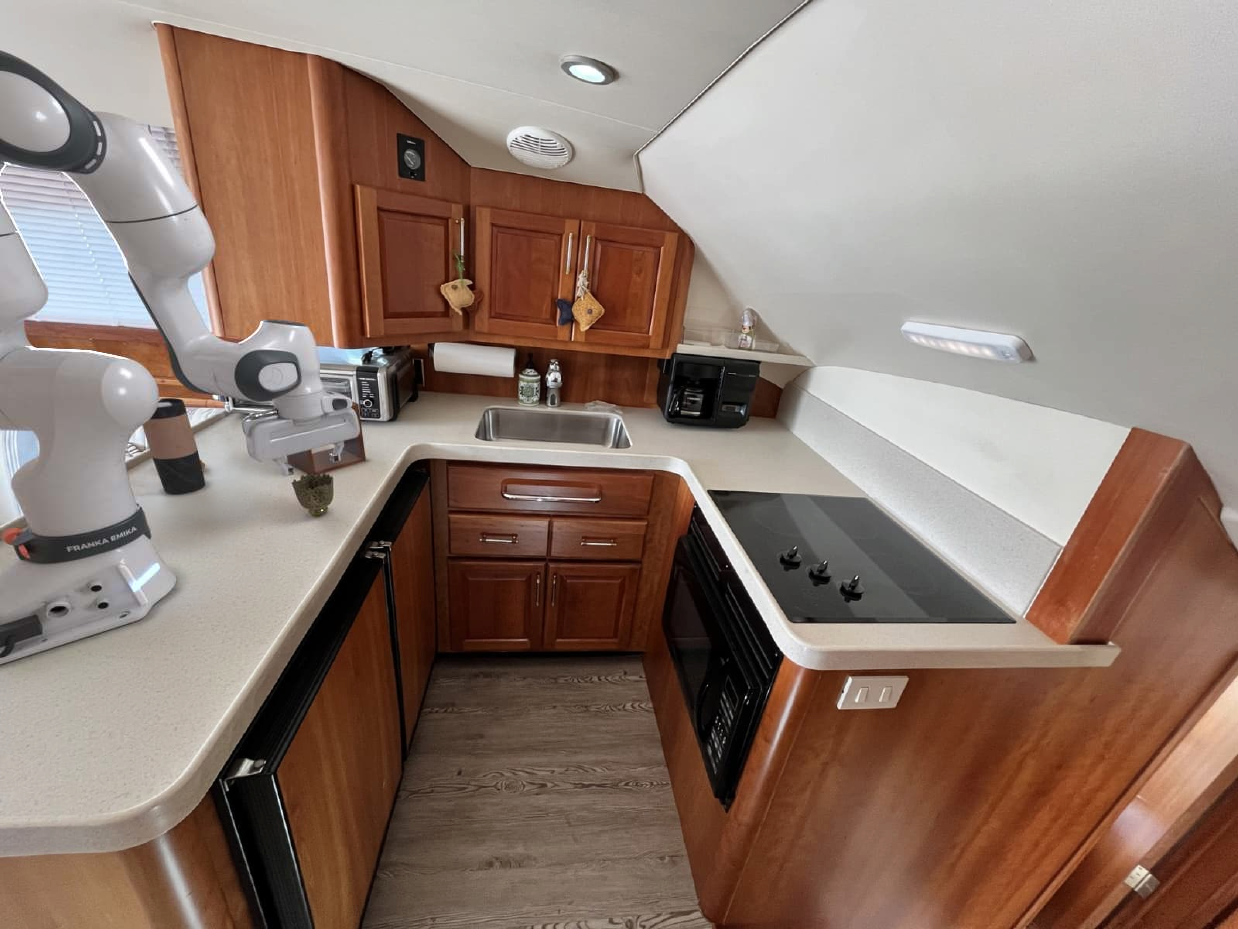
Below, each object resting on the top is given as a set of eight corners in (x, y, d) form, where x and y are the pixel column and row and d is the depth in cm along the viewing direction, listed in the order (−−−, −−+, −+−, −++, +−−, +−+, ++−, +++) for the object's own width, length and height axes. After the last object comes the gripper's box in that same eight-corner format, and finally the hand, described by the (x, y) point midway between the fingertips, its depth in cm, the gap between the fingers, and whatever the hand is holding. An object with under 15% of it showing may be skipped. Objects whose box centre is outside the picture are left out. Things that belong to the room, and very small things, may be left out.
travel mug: (195, 494, 108) (170, 408, 101) (154, 495, 107) (126, 407, 99) (214, 480, 115) (191, 398, 108) (175, 480, 114) (150, 397, 106)
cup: (320, 524, 102) (314, 489, 99) (289, 518, 103) (282, 483, 100) (346, 508, 108) (341, 475, 105) (317, 502, 110) (311, 470, 106)
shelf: (311, 476, 121) (300, 414, 115) (287, 463, 127) (276, 403, 121) (366, 460, 132) (358, 403, 126) (341, 449, 138) (333, 394, 132)
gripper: (247, 419, 87) (264, 489, 92) (359, 397, 102) (367, 458, 108) (231, 411, 90) (248, 478, 95) (342, 391, 106) (351, 450, 111)
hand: (312, 467), depth 102 cm, fingers open, 8 cm apart
